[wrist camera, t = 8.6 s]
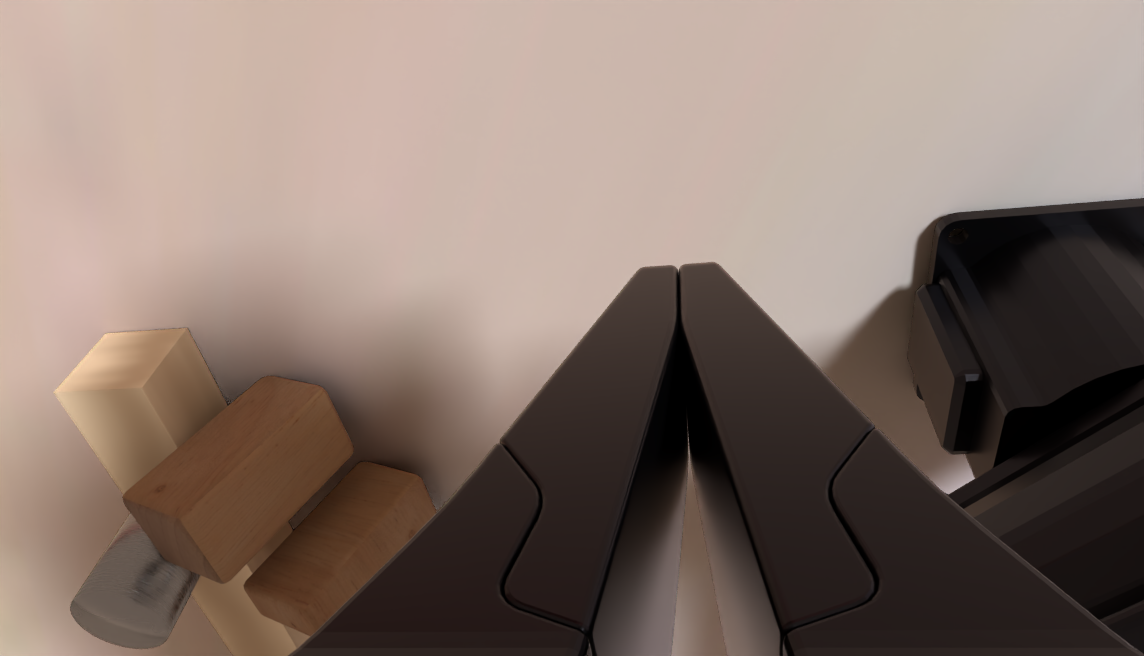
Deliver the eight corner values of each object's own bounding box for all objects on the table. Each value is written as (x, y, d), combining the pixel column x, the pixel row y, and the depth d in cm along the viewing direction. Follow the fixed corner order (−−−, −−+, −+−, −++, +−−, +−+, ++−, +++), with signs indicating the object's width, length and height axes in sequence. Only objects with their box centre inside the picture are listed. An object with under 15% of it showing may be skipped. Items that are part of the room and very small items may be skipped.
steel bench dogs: (238, 426, 30) (142, 591, 24) (359, 657, 39) (308, 817, 33) (163, 429, 30) (51, 592, 25) (299, 657, 39) (239, 814, 34)
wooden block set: (264, 337, 30) (4, 544, 24) (444, 369, 26) (190, 635, 19) (417, 634, 40) (265, 842, 33) (568, 694, 36) (429, 948, 29)
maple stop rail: (187, 328, 27) (141, 387, 25) (385, 707, 41) (368, 768, 39) (105, 333, 28) (53, 392, 25) (328, 706, 42) (309, 767, 39)
